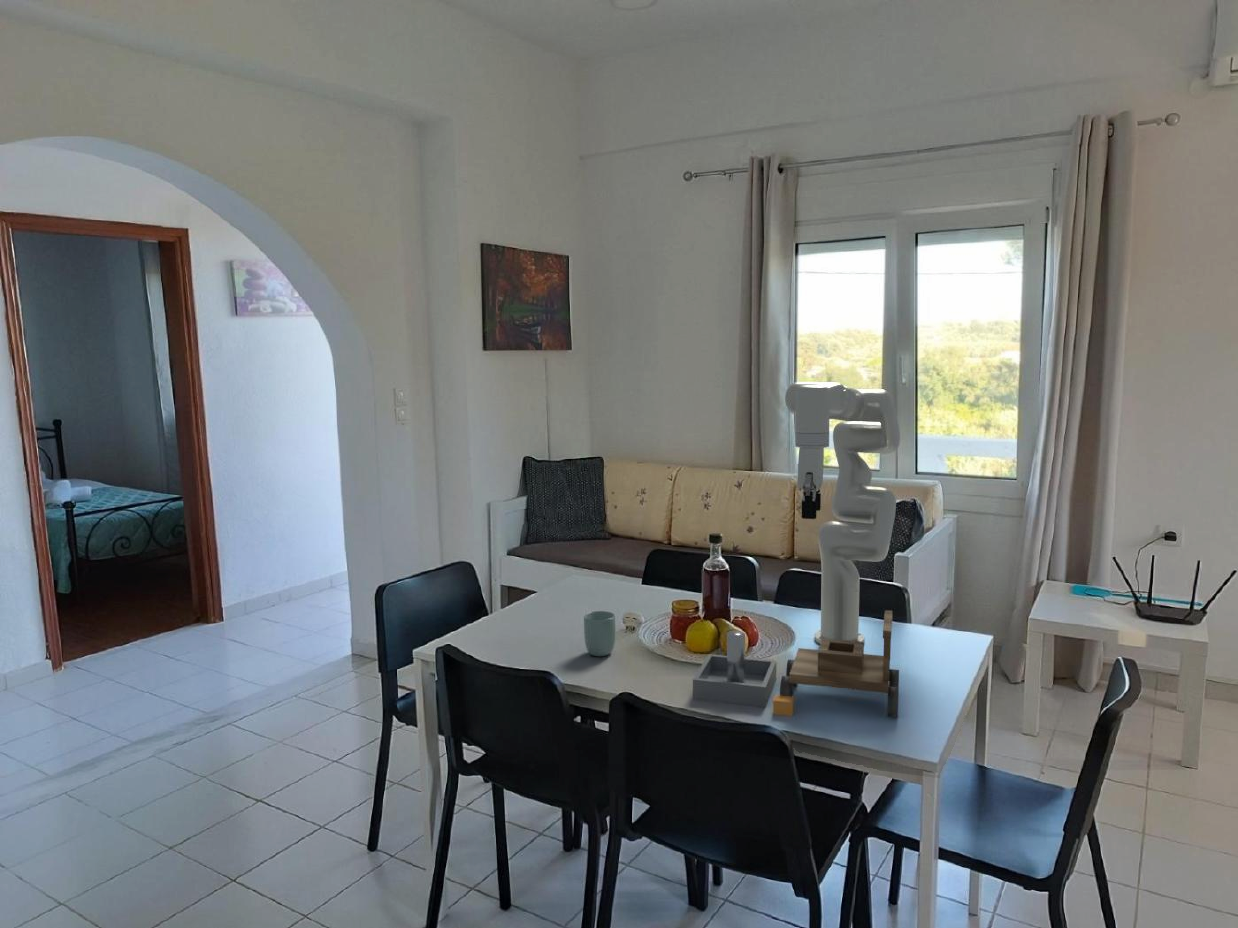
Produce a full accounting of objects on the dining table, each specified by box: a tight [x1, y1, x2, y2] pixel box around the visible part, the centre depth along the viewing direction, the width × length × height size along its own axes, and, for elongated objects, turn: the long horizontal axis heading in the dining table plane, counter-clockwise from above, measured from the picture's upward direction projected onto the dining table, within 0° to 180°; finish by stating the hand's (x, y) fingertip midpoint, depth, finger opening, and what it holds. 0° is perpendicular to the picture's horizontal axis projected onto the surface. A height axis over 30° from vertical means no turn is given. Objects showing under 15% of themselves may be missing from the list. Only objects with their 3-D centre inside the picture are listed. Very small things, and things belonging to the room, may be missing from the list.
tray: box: [692, 653, 777, 708], centre depth 198 cm, size 16×16×4 cm
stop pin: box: [726, 630, 746, 683], centre depth 197 cm, size 4×4×12 cm
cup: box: [583, 610, 617, 657], centre depth 221 cm, size 8×8×10 cm
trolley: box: [779, 610, 900, 718], centre depth 190 cm, size 16×24×19 cm, turn 72°
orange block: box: [772, 694, 795, 717], centre depth 186 cm, size 3×4×3 cm
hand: (811, 514), depth 200 cm, fingers open, 9 cm apart
